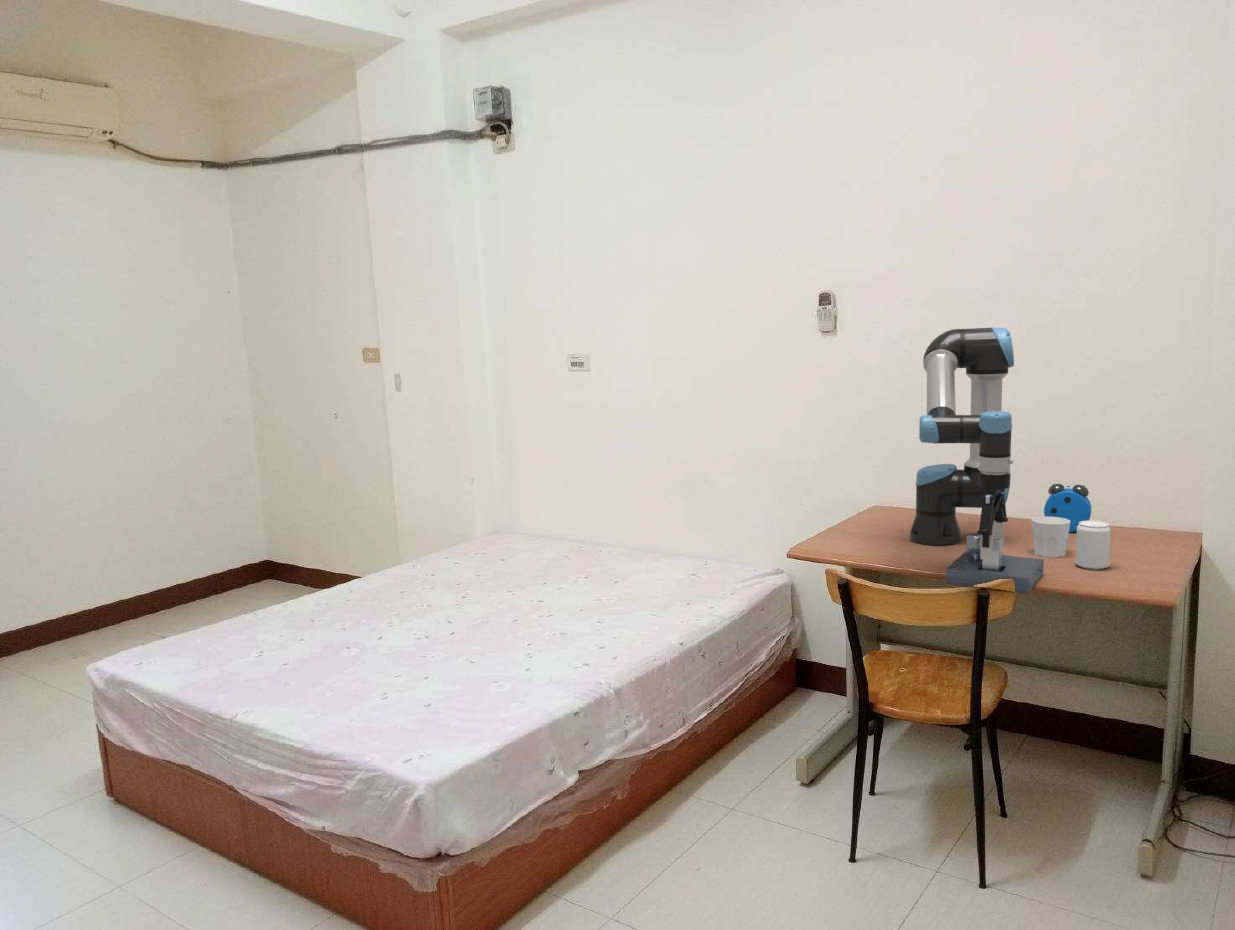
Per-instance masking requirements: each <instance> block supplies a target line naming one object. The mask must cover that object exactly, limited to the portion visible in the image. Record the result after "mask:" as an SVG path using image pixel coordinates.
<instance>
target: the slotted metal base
mask: <svg viewBox="0 0 1235 930" xmlns="http://www.w3.org/2000/svg"><path fill="white" fill-rule="evenodd" d="M980 547H981V534H977V532H975V533H974V532H973V533H972V532H971V533H967V534H966V550H965V551H964V552H963V553H962V554H961V555H960V556H958V557H957V558H956V559H955V560H954V561H953V562H952V563H951V564H950V565H949V566H948V567H946V568H945V570H946V571H945V584H946V585H953V586H962V587H968V586H974V585H977V584H982V583H987V582H991V581H994V580H998V579H1013V581H1014V584H1015V592H1014V593H1016V594H1025V595H1030V593H1031V592H1032V591H1033V589H1034V587H1035V586H1036V585H1037V584H1038V582H1039V580H1040V579H1041V577H1043V575H1044V567H1045V565H1044V564H1045V563H1044V562H1045V558H1043V559H1042V558H1035V557H1025V556H1015V555H1006V554H1002V572H997V571H988V570H982V559H980Z"/></svg>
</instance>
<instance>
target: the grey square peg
mask: <svg viewBox="0 0 1235 930" xmlns="http://www.w3.org/2000/svg"><path fill="white" fill-rule="evenodd" d="M1003 548H1004V547H1003V537H998V536H993V546H992V560H985V559H982V570H988V571H997V572H1002V555H1003Z"/></svg>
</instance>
